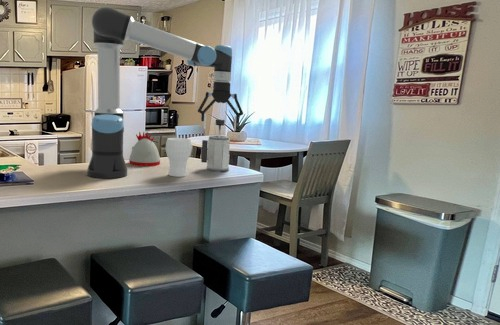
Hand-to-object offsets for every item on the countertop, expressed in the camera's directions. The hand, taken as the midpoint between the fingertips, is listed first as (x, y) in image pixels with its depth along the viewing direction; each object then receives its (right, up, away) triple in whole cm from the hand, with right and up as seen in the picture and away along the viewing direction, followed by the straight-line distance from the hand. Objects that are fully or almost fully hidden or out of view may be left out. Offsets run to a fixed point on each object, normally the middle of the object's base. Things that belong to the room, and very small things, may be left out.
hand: (219, 129), depth 199 cm
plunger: (-1, -14, +2) cm, 14 cm away
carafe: (-2, -18, +3) cm, 18 cm away
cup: (-16, -20, -14) cm, 30 cm away
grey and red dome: (-35, -15, +7) cm, 39 cm away
